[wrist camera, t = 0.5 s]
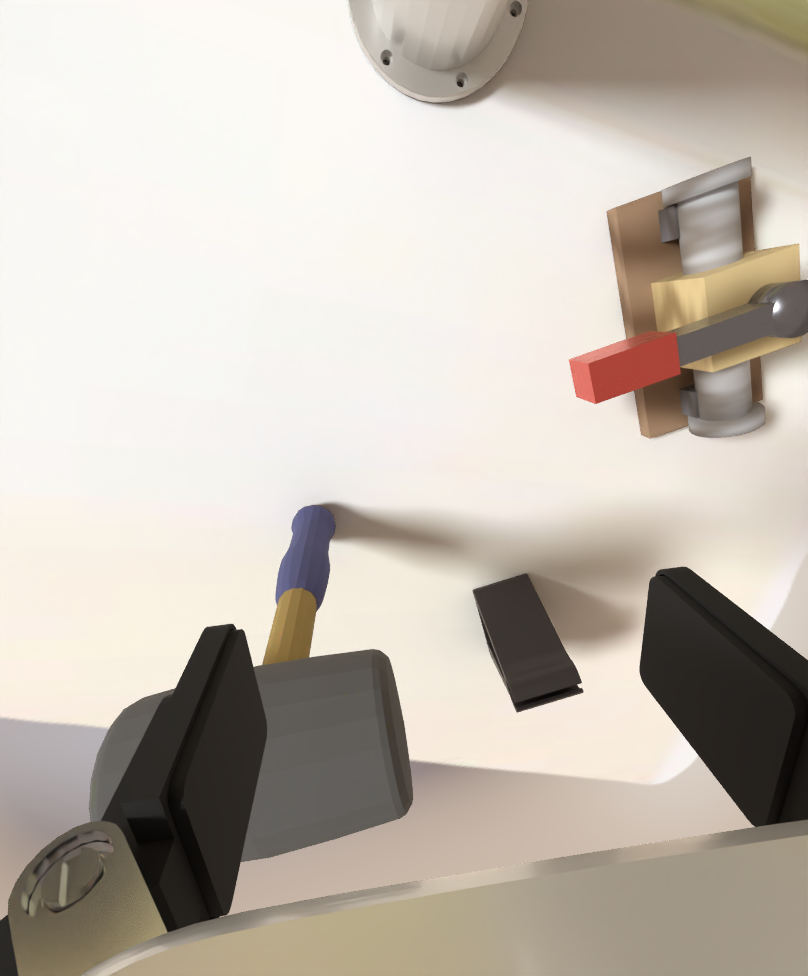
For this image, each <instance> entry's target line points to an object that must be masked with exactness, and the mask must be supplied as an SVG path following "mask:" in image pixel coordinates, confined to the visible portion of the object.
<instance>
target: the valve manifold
mask: <svg viewBox="0 0 808 976" xmlns="http://www.w3.org/2000/svg"><path fill="white" fill-rule="evenodd" d="M750 176H752V168H751V157H748V158H745V159H742V160H739V161H736V162H734V163H731V164H728V165H725V166H723V167H720V168H717V169H715V170H712V171H709V172H707V173H704V174H701V175H699V176H696V177H693V178H691V179H688V180H686V181H683V182H681V183H678V184H676V185H673V186H671V187H668V188H666V189H663V190H661V191H660V192H657V193H654V194H652V195H649V196H646V197H643V198H641V199H638V200H635V201H632V202H630V203H627V204H624V205H621V206H618V207H616V208H613V209H611V210H609V211H607V217H608V224H609V230H610V237H611V243H612V250H613V256H614V262H615V269H616V275H617V282H618V288H619V295H620V301H621V308H622V314H623V321H624V327H625V333H626V339H628V338H631V337H634V336H637V335H640V334H642V333H645V332H648V331H658V332H668V331H670V330H673V329H676V328H679V327H682V326H685V325H687V324H690V323H693V322H696V321H699V320H701V319H704V318H707V317H710V316H713V315H716V314H718V313H721V312H724V311H727V310H730V309H732V308H735V307H738V306H741V305H744V304H747V303H748V302H749V300H750V298H751V297H752V295H753V294H754V293H755V292H756V291H757V290H758V289H760V288H761V287H763V286H764V285H767V284H770V283H777V282H789V281H800V259H799V244H794V245H787V246H781V247H775V248H769V249H763V250H757V251H754V235H753V217H752V199H751V181H750ZM798 342H801V336H800V337H796V338H776V337H763V338H760V339H757V340H754V341H752V342H749V343H746V344H743V345H740V346H737V347H735V348H732V349H729V350H726V351H723V352H720V353H718V354H715V355H712V356H709V357H706V358H703V359H701V360H698V361H695V362H692V363H689V364H686V365H684V366H681V367H680V371H681V374H679V375H676V376H674V377H671V378H668V379H665V380H662V381H659V382H656V383H654V384H651V385H648V386H645V387H642V388H639V389H637V390H634V392H635V398H636V405H637V411H638V417H639V424H640V430H641V435H643V436H645V437H648V438H653V437H656V436H659V435H662V434H665V433H668V432H671V431H673V430H676V429H679V428H682V427H685V426H688V425H689V431H690V432H691V433H692V434H694V435H696V436H700V437H708V438H721V437H731V436H737V435H741V434H745V433H748V432H751V431H754V430H756V429H758V428H760V427H761V426H763V424H764V423H765V408H764V405H763V404H761V403H759V402H757V401H759V400H762V399H763V398H762V380H761V362H760V356H761V355H764V354H767V353H770V352H773V351H775V350H778V349H781V348H784V347H787V346H790V345H793V344H795V343H798Z"/></svg>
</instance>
